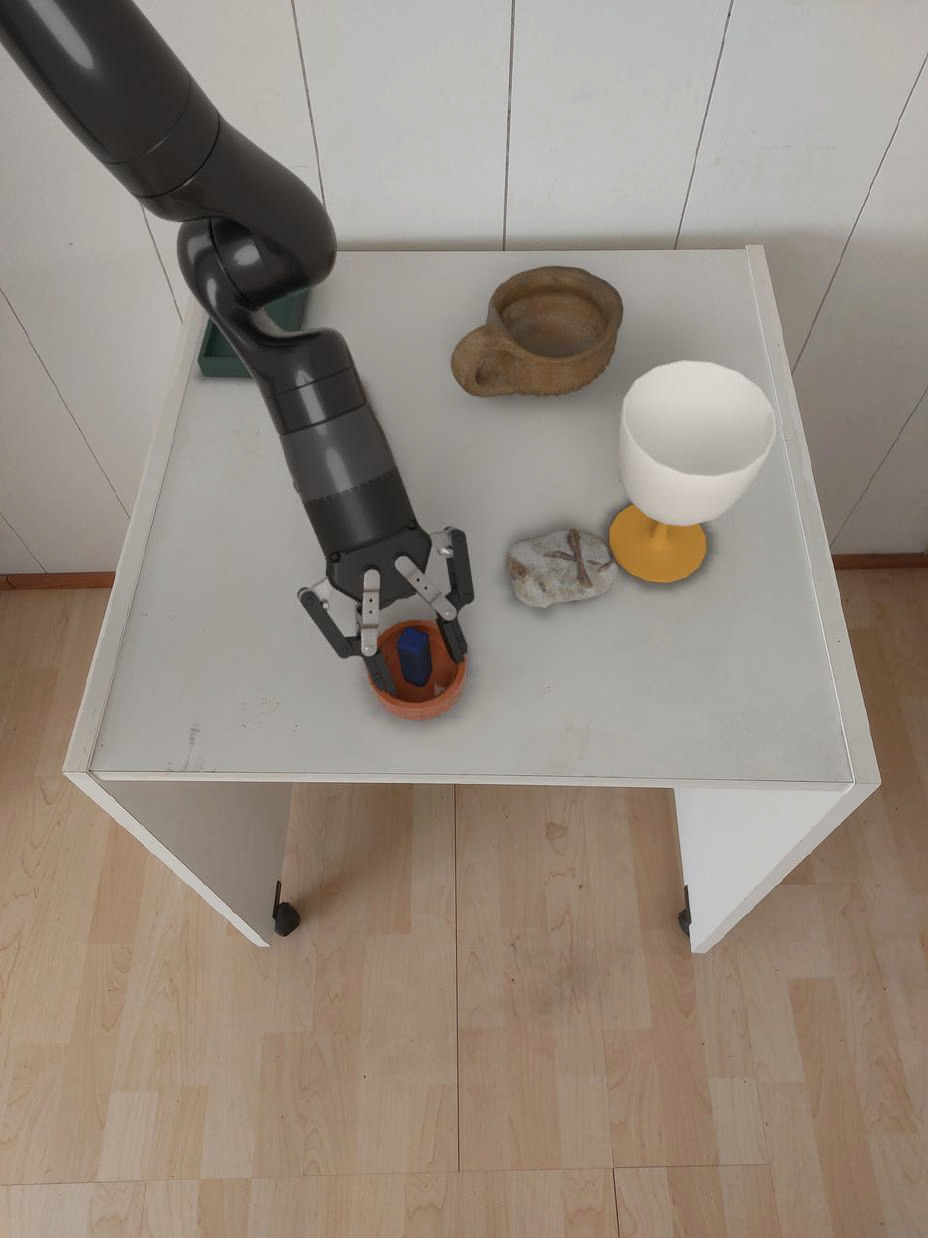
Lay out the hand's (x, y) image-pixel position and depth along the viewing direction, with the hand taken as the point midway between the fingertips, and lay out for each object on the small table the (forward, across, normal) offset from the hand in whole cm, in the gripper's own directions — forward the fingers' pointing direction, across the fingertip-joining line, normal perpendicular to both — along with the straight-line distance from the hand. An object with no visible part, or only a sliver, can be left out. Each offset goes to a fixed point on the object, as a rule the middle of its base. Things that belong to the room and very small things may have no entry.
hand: (424, 674), depth 69 cm
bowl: (-16, +25, +23) cm, 38 cm away
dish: (+2, 0, +4) cm, 5 cm away
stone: (-1, +16, +7) cm, 17 cm away
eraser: (+1, 0, +4) cm, 4 cm away
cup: (0, +26, +6) cm, 26 cm away
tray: (-31, +2, +37) cm, 48 cm away
